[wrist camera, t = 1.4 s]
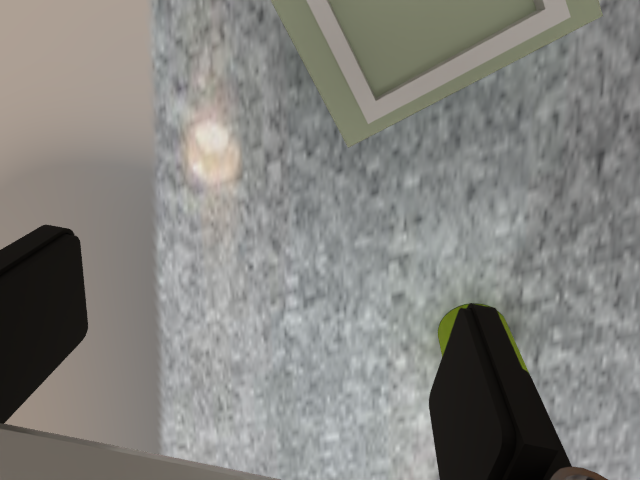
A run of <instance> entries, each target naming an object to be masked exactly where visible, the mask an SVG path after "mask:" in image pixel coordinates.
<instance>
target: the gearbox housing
mask: <svg viewBox="0 0 640 480" xmlns="http://www.w3.org/2000/svg"><path fill="white" fill-rule="evenodd" d="M271 2H272V4H273V5H274V7H275V9H276V11H277V13H278V15H279V17H280V19H281V21H282V23H283V24H284V26H285V28H286V30H287V32H288V34H289V36H290V38H291V40H292V42H293V44H294V45H295V47H296V49H297V51H298V53H299V55H300V57H301V59H302V61H303V63H304V64H305V66H306V68H307V70H308V72H309V74H310V76H311V78H312V80H313V82H314V84H315V85H316V87H317V89H318V91H319V93H320V95H321V97H322V99H323V101H324V103H325V104H326V106H327V108H328V110H329V112H330V114H331V116H332V118H333V120H334V122H335V124H336V125H337V127H338V129H339V131H340V133H341V135H342V137H343V139H344V141H345V143H346V144H347V146H348V148H349V147H351V146H353V145H354V144H356V143H358V142H360V141H362V140H364V139H366V138H368V137H370V136H372V135H374V134H376V133H378V132H380V131H381V130H383V129H385V128H387V127H389V126H391V125H393V124H395V123H397V122H399V121H401V120H403V119H405V118H407V117H408V116H410V115H412V114H414V113H416V112H418V111H420V110H422V109H424V108H426V107H428V106H430V105H432V104H434V103H435V102H437V101H439V100H441V99H443V98H445V97H447V96H449V95H451V94H453V93H455V92H457V91H459V90H461V89H462V88H464V87H466V86H468V85H470V84H472V83H474V82H476V81H478V80H480V79H482V78H484V77H486V76H488V75H490V74H491V73H493V72H495V71H497V70H499V69H501V68H503V67H505V66H507V65H509V64H511V63H513V62H515V61H517V60H518V59H520V58H522V57H524V56H526V55H528V54H530V53H532V52H534V51H536V50H538V49H540V48H542V47H544V46H545V45H547V44H549V43H551V42H553V41H555V40H557V39H559V38H561V37H563V36H565V35H567V34H569V33H571V32H572V31H574V30H576V29H578V28H580V27H582V26H584V25H586V24H588V23H590V22H592V21H594V20H596V19H598V18H599V17H601V16H603V15H602V11H601V8H600V4H599V1H598V0H271Z"/></svg>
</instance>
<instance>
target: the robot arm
mask: <svg viewBox="0 0 640 480" xmlns="http://www.w3.org/2000/svg"><path fill="white" fill-rule="evenodd" d="M84 289H85V288H84V277H83V267H82V256H81V246H80V240H79V238H78V237H77V236H74V233H73V231H72V230H70V229H67V228H62V227H56V226H51V225H43V226H41V227H39V228H37V229H36V230H34V231H32V232H31V233H29V234H27V235H25V236H24V237H22V238H20V239H19V240H17V241H15V242H13V243H12V244H10V245H8V246H6V247H5V248H3V249H1V250H0V480H281V479H276V478H271V477H266V476H262V475H257V474H252V473H247V472H242V471H237V470H233V469H228V468H223V467H218V466H213V465H208V464H203V463H198V462H193V461H188V460H183V459H178V458H174V457H169V456H164V455H159V454H153V453H148V452H144V451H139V450H134V449H129V448H124V447H119V446H114V445H109V444H104V443H99V442H94V441H89V440H84V439H79V438H74V437H69V436H63V435H59V434H54V433H48V432H43V431H38V430H33V429H27V428H23V427H18V426H12V425H7V424H4V423H5V422H6V421H7V420H8V419H9V418H10V417H11V416H12V414H13V413H14V412H15V411H16V410H17V409H18V408H19V407H20V406H21V405H22V404H23V403H24V402H25V401H26V400H27V398H28V397H29V396H30V395H31V394H32V393H33V392H34V391H35V390H36V389H37V388H38V387H39V386H40V385H41V384H42V383H43V382H44V380H45V379H46V378H47V377H48V376H49V375H50V374H51V373H52V372H53V371H54V370H55V369H56V368H57V367H58V366H59V365H60V364H61V362H62V361H63V360H64V359H65V358H66V357H67V356H68V355H69V354H70V353H71V352H72V351H73V350H74V349H75V348H76V347H77V346H78V344H79V343H80V342H81V341H82V340H83V339H84V337H85V336H86V333H87V330H88V320H87V310H86V299H85V290H84ZM429 409H430V416H431V423H432V430H433V436H434V443H435V450H436V457H437V463H438V470H439V477H440V480H608V479H606V478H604V477H602V476H601V475H599V474H597V473H595V472H592V471H589V470H587V469H584V468H578V467H572V466H571V464H570V461H569V459H568V457H567V455H566V453H565V450H564V448H563V446H562V444H561V442H560V439H559V437H558V435H557V433H556V431H555V429H554V426H553V424H552V422H551V420H550V418H549V415H548V413H547V411H546V409H545V407H544V404H543V402H542V400H541V398H540V396H539V393H538V391H537V389H536V387H535V385H534V383H533V380H532V378H531V376H530V375H529V373H528V372H527V371H526V370H524V369H523V368H522V366H521V364H520V362H519V359H518V357H517V355H516V352H515V350H514V348H513V346H512V343H511V341H510V339H509V337H508V334H507V332H506V330H505V328H504V325H503V323H502V321H501V319H500V316H499V314H498V312H497V310H496V309H495V308H493V307H488V306H482V305H477V304H472V303H471V304H469V305H468V307H467V308H460V309H459V311H458V313H457V316H456V319H455V322H454V325H453V328H452V330H451V333H450V336H449V339H448V342H447V345H446V348H445V351H444V354H443V357H442V360H441V363H440V366H439V368H438V371H437V374H436V377H435V380H434V383H433V386H432V389H431V392H430V397H429Z"/></svg>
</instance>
